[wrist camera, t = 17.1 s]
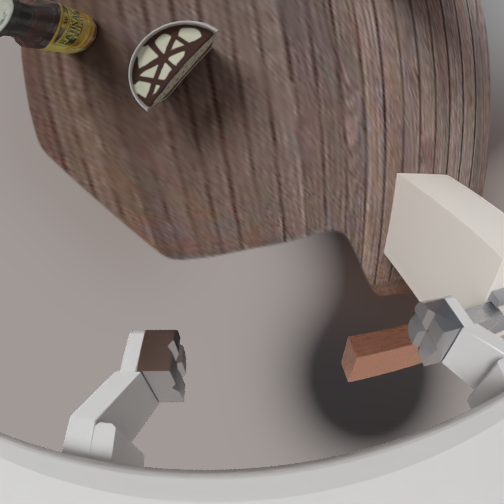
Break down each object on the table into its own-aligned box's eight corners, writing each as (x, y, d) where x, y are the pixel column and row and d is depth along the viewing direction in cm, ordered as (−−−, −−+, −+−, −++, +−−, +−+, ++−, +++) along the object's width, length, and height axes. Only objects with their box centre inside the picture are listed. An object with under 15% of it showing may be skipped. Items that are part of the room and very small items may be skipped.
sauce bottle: (96, 51, 31) (15, 45, 14) (60, 56, 30) (-28, 60, 13) (102, 11, 27) (28, -19, 11) (66, 17, 26) (-18, 1, 10)
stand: (383, 252, 54) (460, 364, 31) (397, 173, 45) (512, 268, 22) (430, 247, 55) (509, 342, 31) (447, 174, 46) (555, 256, 23)
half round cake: (186, 15, 30) (176, -3, 22) (220, 39, 32) (219, 27, 24) (128, 82, 34) (103, 84, 26) (161, 105, 37) (143, 113, 28)
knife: (341, 362, 28) (348, 382, 26) (348, 336, 26) (356, 357, 24) (479, 324, 29) (489, 337, 27) (492, 300, 27) (503, 314, 25)
